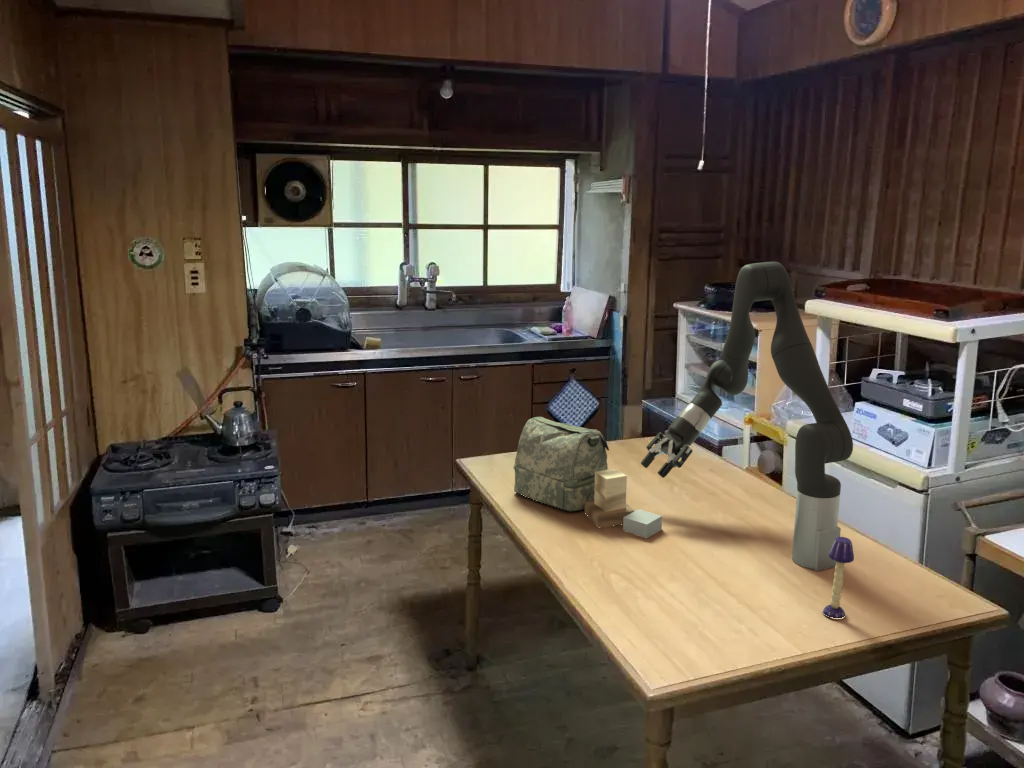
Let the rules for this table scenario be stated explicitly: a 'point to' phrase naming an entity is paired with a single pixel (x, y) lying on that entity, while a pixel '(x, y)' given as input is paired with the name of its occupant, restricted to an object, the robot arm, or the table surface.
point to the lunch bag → (559, 463)
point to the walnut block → (606, 514)
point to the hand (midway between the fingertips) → (651, 470)
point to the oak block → (610, 490)
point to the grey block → (642, 523)
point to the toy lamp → (839, 574)
